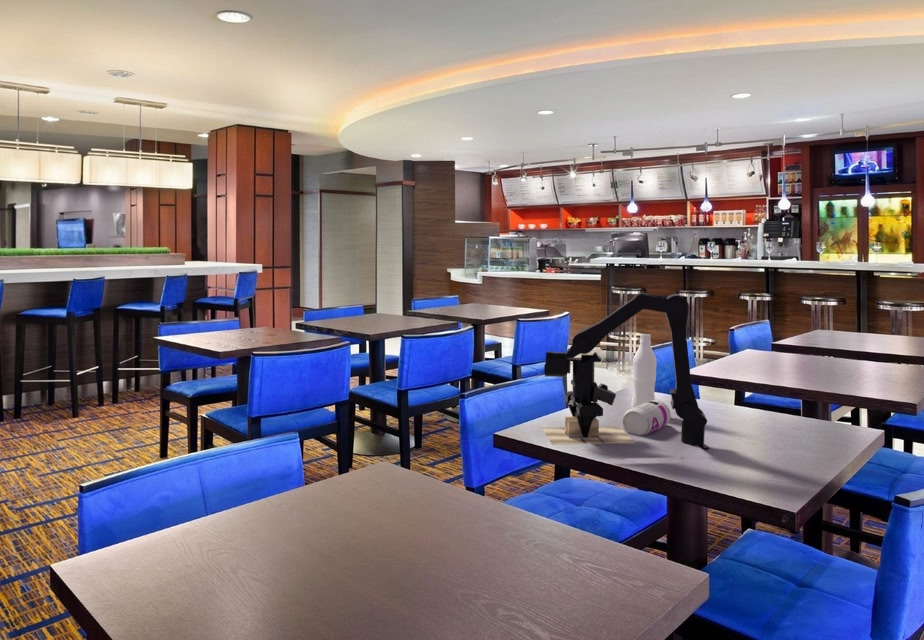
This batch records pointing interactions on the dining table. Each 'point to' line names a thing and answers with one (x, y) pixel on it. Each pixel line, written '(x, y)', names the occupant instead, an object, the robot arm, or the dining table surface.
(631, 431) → the supplement can
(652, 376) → the water bottle
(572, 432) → the block
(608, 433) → the board
